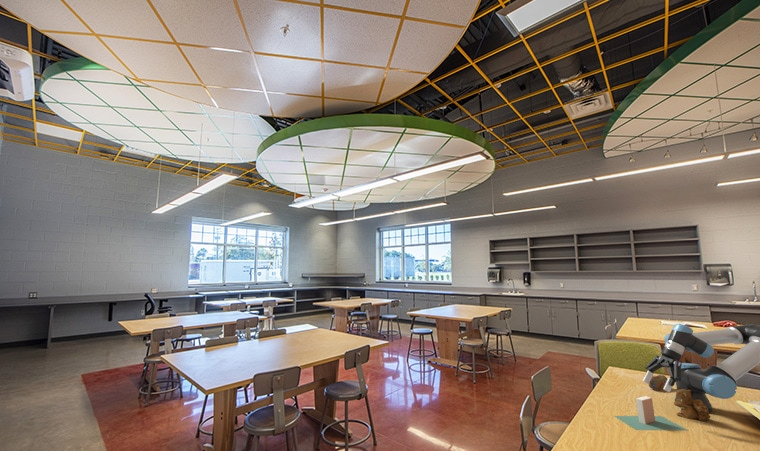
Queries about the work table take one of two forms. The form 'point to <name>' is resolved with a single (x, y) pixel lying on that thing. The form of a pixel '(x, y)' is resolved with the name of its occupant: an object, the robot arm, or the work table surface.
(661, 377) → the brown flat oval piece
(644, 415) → the card box
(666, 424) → the mat
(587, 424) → the work table surface
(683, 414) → the stuffed squirrel
